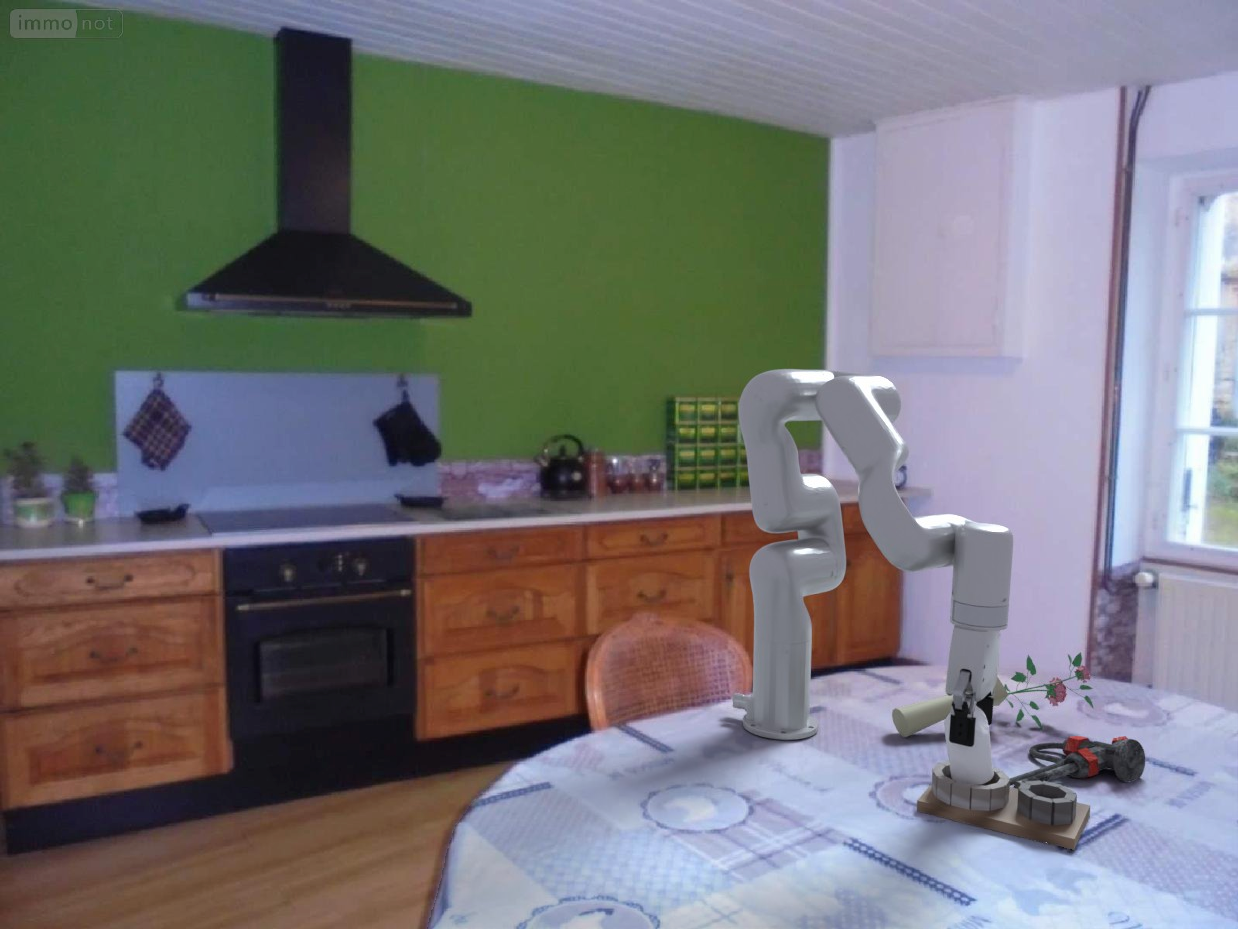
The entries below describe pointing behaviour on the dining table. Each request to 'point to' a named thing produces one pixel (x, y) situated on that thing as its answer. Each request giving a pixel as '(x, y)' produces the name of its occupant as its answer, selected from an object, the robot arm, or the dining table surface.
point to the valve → (1087, 760)
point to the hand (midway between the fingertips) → (970, 733)
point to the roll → (971, 753)
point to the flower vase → (939, 708)
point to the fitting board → (1008, 806)
